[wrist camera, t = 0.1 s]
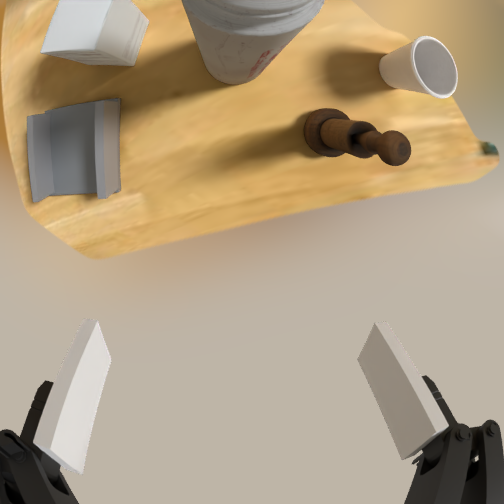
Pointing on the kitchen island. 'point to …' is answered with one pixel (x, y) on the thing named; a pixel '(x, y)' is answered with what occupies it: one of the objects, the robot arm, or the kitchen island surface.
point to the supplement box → (96, 32)
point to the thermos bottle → (245, 33)
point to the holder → (75, 150)
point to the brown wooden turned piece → (353, 138)
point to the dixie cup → (421, 68)
